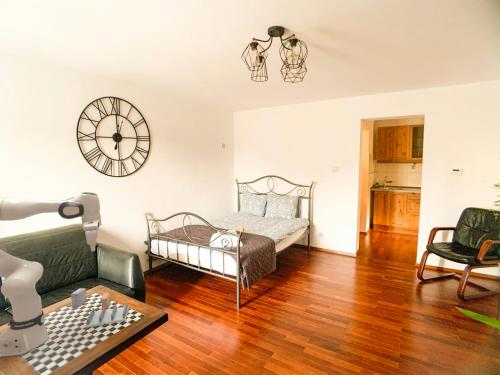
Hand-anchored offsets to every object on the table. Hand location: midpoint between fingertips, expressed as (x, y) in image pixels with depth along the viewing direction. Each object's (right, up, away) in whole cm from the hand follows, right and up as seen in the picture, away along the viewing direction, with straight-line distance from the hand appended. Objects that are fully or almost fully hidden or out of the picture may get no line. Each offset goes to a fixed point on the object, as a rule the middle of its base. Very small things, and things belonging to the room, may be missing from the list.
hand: (93, 248), depth 142 cm
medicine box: (-26, -42, +28) cm, 57 cm away
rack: (+1, -43, +12) cm, 45 cm away
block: (-7, -42, +25) cm, 49 cm away
